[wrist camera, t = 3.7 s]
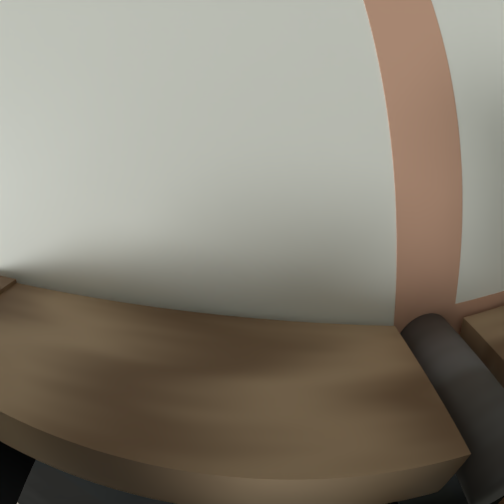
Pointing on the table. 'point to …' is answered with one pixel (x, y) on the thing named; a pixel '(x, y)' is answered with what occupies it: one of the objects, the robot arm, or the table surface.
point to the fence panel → (219, 403)
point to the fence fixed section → (468, 390)
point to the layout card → (257, 155)
